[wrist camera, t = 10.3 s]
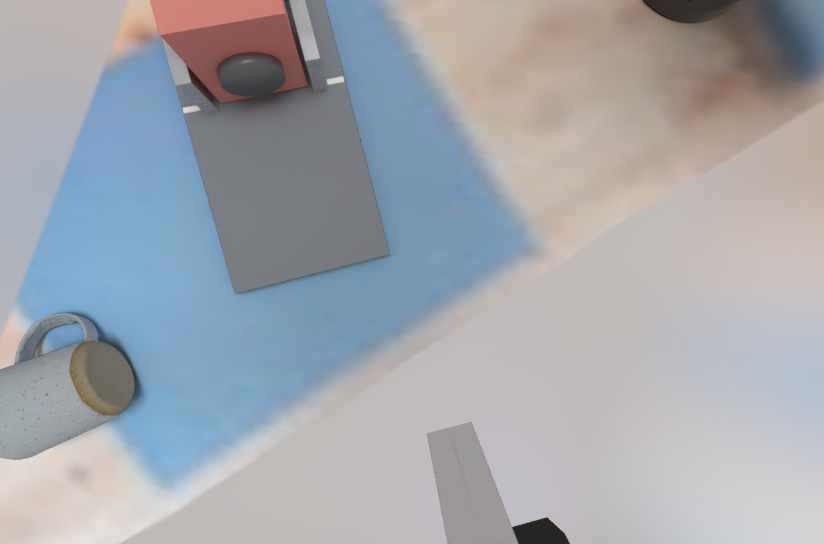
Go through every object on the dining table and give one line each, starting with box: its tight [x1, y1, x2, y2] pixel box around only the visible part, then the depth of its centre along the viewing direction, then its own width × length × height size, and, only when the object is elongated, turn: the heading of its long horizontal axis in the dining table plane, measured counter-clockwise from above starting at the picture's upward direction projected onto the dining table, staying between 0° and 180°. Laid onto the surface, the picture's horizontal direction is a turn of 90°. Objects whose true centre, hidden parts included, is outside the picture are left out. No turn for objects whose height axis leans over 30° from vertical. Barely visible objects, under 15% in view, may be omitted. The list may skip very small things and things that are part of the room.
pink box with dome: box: [150, 0, 308, 103], centre depth 30 cm, size 8×6×11 cm
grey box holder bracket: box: [161, 0, 327, 115], centre depth 33 cm, size 11×9×6 cm
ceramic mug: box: [0, 313, 135, 460], centre depth 33 cm, size 11×8×8 cm
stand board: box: [176, 0, 390, 294], centre depth 37 cm, size 15×26×2 cm, turn 14°
